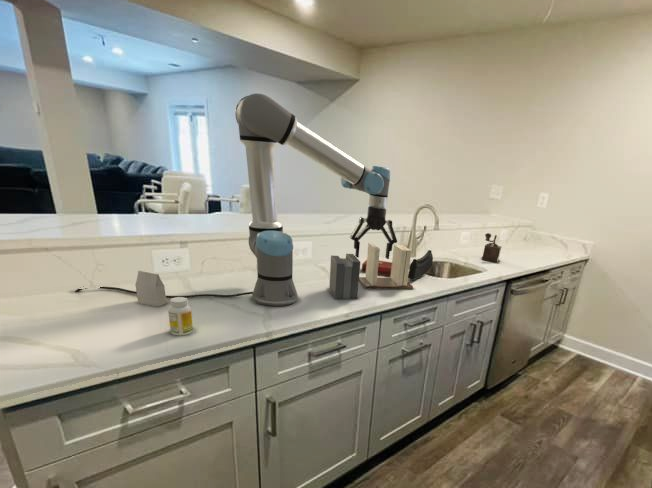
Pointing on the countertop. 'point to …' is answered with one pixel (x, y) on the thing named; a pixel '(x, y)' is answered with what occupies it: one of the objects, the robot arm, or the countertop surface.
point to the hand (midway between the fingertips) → (372, 257)
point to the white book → (372, 263)
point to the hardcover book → (380, 267)
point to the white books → (400, 265)
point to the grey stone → (150, 289)
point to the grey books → (344, 277)
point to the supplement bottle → (180, 316)
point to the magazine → (420, 266)
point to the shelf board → (383, 284)
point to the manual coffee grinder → (491, 250)
